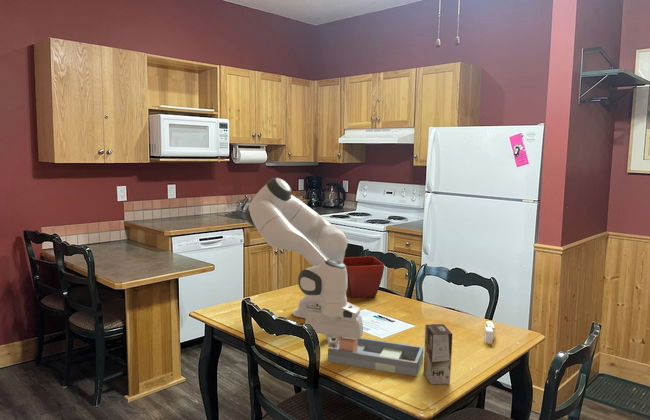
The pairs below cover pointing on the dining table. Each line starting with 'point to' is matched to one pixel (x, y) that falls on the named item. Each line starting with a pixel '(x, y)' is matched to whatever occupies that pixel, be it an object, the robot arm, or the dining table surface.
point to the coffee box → (437, 353)
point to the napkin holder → (489, 332)
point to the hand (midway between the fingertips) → (333, 346)
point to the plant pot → (363, 276)
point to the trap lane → (380, 356)
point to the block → (348, 344)
